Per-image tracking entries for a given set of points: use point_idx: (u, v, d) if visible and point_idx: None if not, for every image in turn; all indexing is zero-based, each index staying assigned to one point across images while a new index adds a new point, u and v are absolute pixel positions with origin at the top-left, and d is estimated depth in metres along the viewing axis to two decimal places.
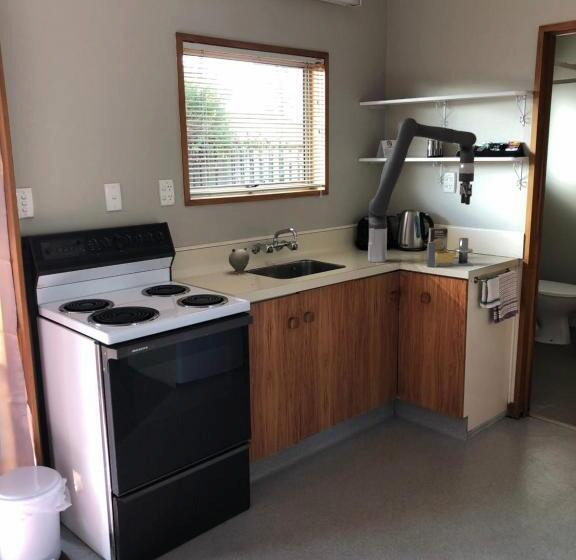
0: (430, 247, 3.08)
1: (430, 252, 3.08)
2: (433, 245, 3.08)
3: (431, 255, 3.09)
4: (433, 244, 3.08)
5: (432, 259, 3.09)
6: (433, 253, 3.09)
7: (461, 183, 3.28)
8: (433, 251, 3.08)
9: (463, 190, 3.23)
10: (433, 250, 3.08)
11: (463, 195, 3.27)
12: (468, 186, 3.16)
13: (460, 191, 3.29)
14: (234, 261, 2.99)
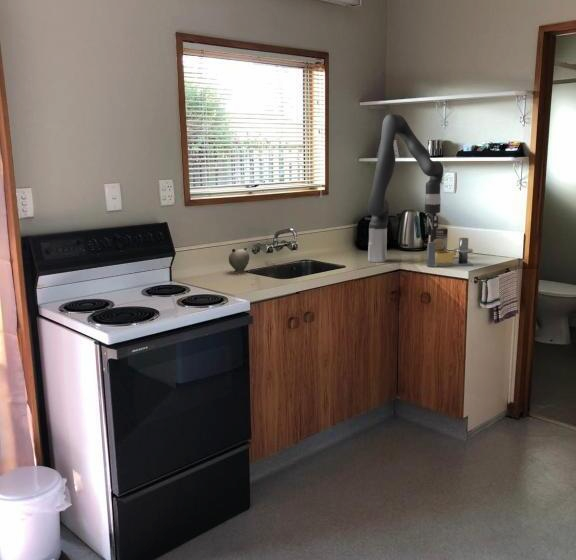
0: (430, 247, 3.08)
1: (430, 252, 3.08)
2: (433, 245, 3.08)
3: (431, 255, 3.09)
4: (433, 244, 3.08)
5: (432, 259, 3.09)
6: (433, 253, 3.09)
7: (428, 214, 3.12)
8: (433, 251, 3.08)
9: (429, 222, 3.08)
10: (433, 250, 3.08)
11: (430, 226, 3.12)
12: (434, 218, 3.00)
13: None
14: (234, 261, 2.99)
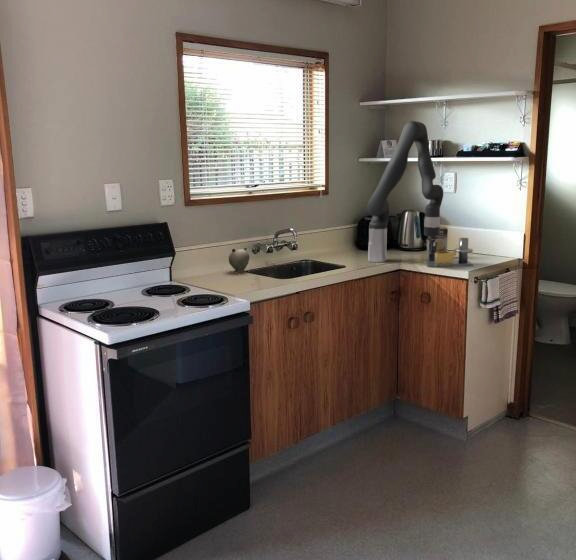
0: None
1: None
2: None
3: None
4: None
5: None
6: None
7: None
8: None
9: None
10: None
11: None
12: (433, 244, 3.03)
13: None
14: (234, 261, 2.99)
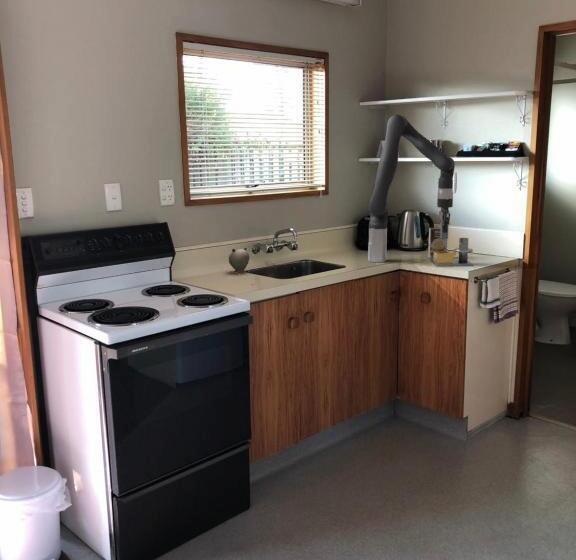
0: None
1: None
2: None
3: None
4: None
5: None
6: None
7: (440, 211, 3.18)
8: None
9: None
10: None
11: None
12: (446, 216, 3.06)
13: (440, 219, 3.17)
14: (234, 261, 2.99)
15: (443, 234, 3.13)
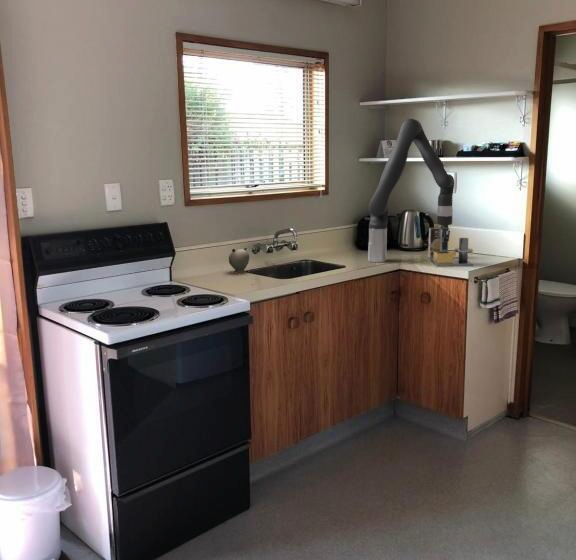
0: None
1: None
2: None
3: None
4: None
5: None
6: None
7: (440, 228, 3.20)
8: None
9: None
10: None
11: None
12: (446, 233, 3.08)
13: (439, 235, 3.18)
14: (234, 261, 2.99)
15: (443, 251, 3.14)
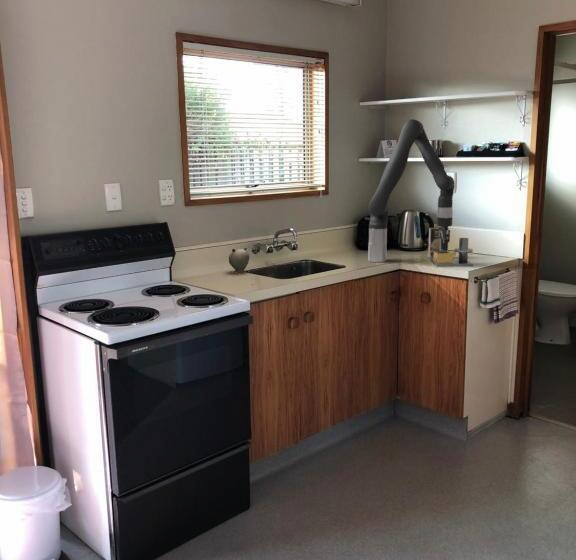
0: (442, 243, 3.14)
1: (442, 248, 3.14)
2: None
3: (443, 251, 3.14)
4: None
5: None
6: None
7: (439, 227, 3.20)
8: None
9: (441, 234, 3.15)
10: None
11: None
12: (446, 232, 3.07)
13: None
14: (234, 261, 2.99)
15: None
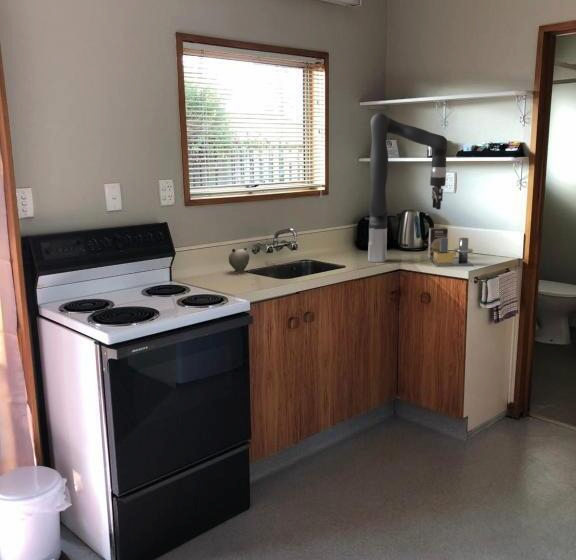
0: (443, 243, 3.14)
1: (443, 248, 3.14)
2: (445, 241, 3.13)
3: (443, 251, 3.14)
4: (445, 240, 3.13)
5: None
6: (445, 249, 3.14)
7: (433, 187, 3.22)
8: (445, 247, 3.14)
9: (434, 194, 3.17)
10: (446, 246, 3.14)
11: (435, 199, 3.21)
12: (439, 190, 3.09)
13: None
14: (234, 261, 2.99)
15: None
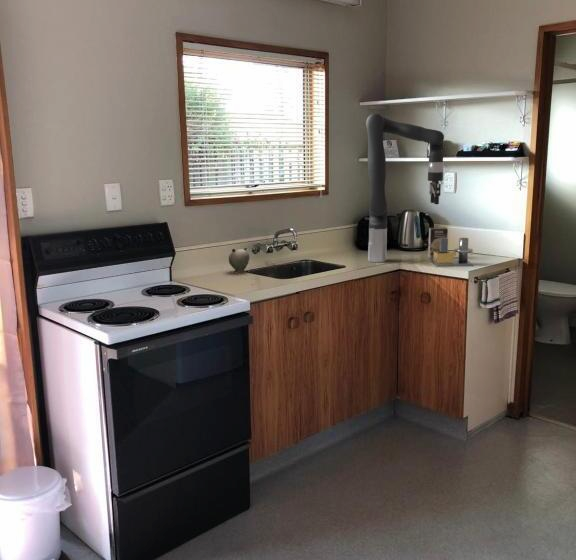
0: (443, 243, 3.14)
1: (443, 248, 3.14)
2: (445, 241, 3.13)
3: (443, 251, 3.14)
4: (445, 240, 3.13)
5: None
6: (445, 249, 3.14)
7: (431, 182, 3.23)
8: (445, 247, 3.14)
9: (432, 189, 3.18)
10: (446, 246, 3.14)
11: (433, 194, 3.22)
12: (437, 185, 3.11)
13: None
14: (234, 261, 2.99)
15: None
